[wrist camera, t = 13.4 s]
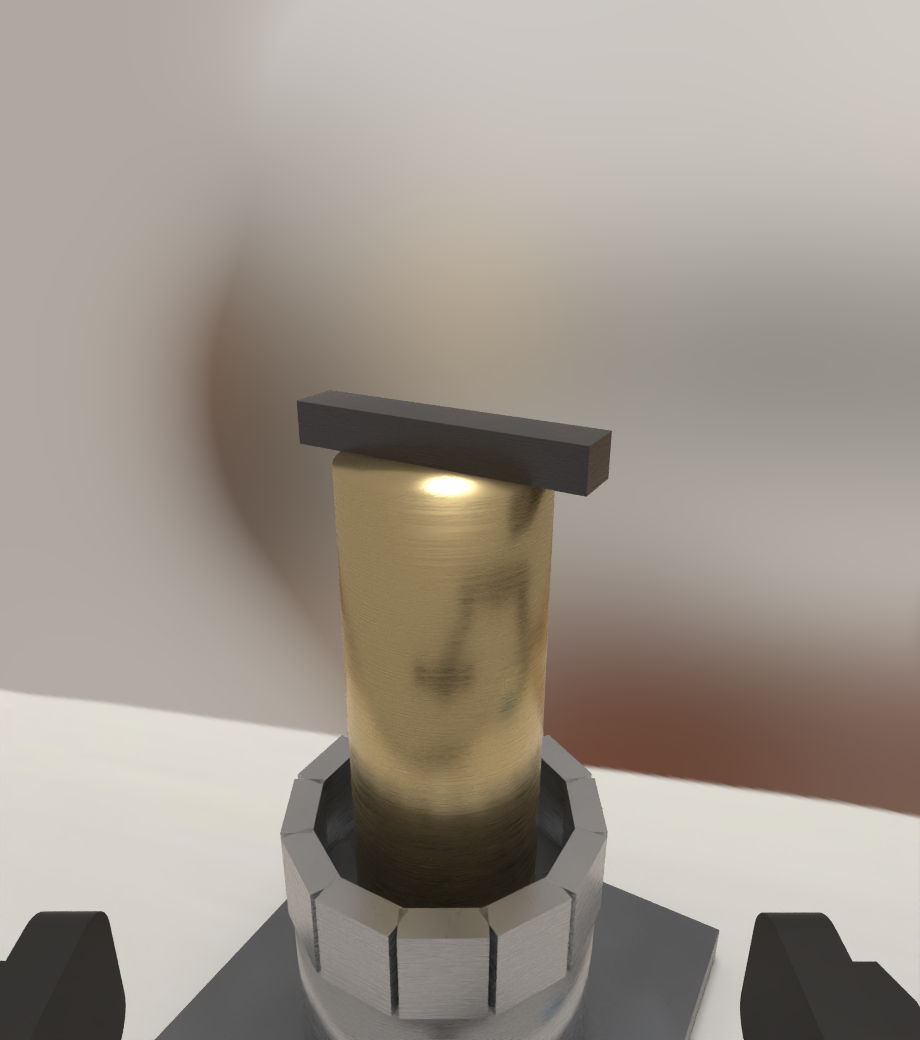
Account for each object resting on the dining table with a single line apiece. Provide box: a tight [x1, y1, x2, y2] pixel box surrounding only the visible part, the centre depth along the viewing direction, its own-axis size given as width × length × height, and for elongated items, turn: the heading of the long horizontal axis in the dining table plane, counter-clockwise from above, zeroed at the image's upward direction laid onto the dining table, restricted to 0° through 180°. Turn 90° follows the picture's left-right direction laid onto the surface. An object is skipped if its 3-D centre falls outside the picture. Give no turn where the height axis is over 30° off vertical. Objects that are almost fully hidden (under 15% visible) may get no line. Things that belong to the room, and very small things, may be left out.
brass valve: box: [297, 390, 612, 908], centre depth 20 cm, size 5×7×13 cm
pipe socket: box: [155, 732, 719, 1040], centre depth 23 cm, size 13×13×8 cm
